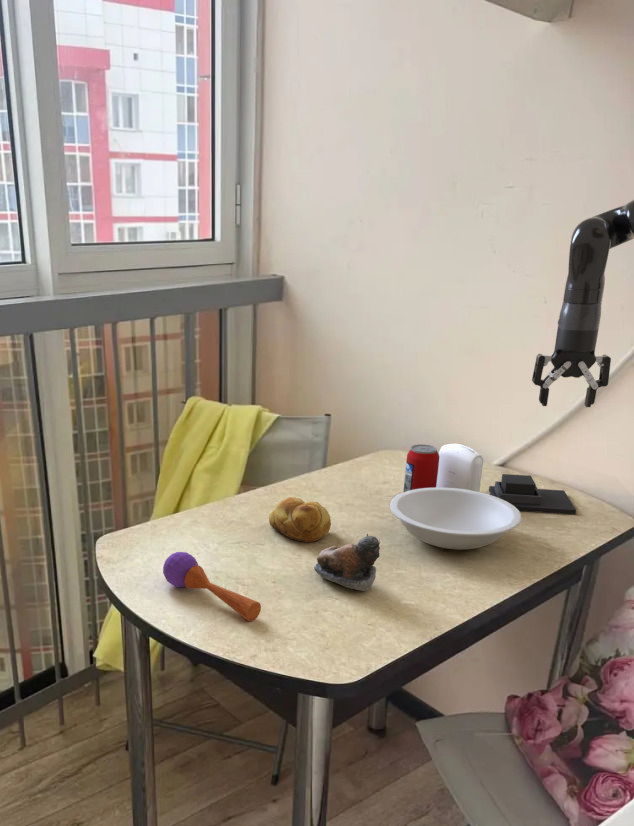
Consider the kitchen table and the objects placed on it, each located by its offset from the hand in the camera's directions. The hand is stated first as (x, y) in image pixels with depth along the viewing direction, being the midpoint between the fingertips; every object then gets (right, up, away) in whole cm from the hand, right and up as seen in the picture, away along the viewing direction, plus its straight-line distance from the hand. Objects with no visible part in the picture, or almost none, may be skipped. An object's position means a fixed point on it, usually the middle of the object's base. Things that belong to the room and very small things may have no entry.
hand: (565, 405), depth 160 cm
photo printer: (-20, -19, +8) cm, 29 cm away
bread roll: (-56, -27, -8) cm, 63 cm away
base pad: (-4, -20, +8) cm, 21 cm away
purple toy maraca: (-73, -38, -33) cm, 89 cm away
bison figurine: (-50, -35, -28) cm, 67 cm away
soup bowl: (-27, -28, -11) cm, 41 cm away
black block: (-7, -18, +8) cm, 21 cm away
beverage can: (-29, -20, +8) cm, 36 cm away
